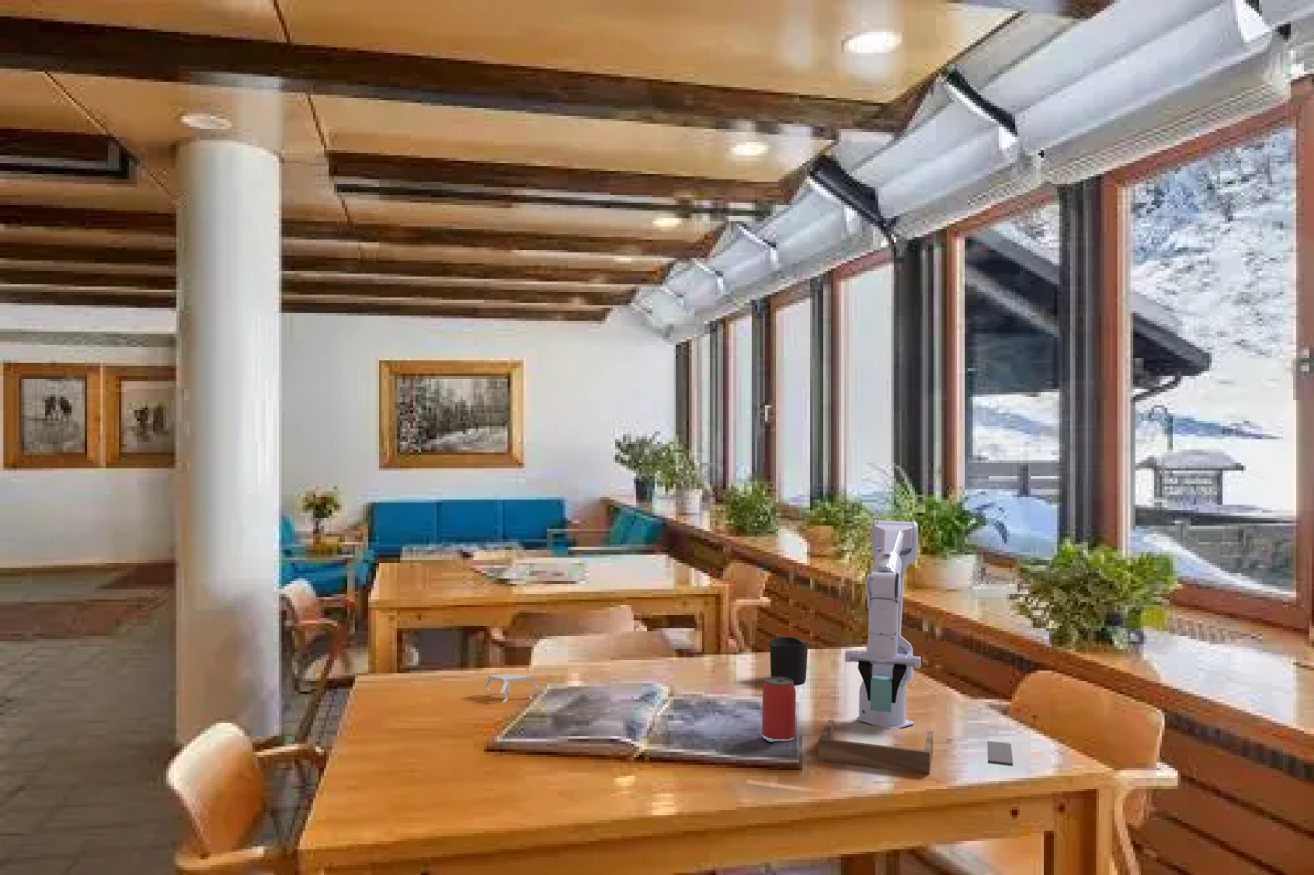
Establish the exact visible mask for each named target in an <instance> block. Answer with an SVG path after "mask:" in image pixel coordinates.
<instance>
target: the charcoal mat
mask: <svg viewBox="0 0 1314 875" xmlns="http://www.w3.org/2000/svg"><path fill="white" fill-rule="evenodd" d="M986 747H987V748H986V749H987V763H992V764H998V765H999V764H1000V765H1006V764H1007V765H1008V766H1014V761H1013V760H1014V759H1013V753H1012V752H1013V751H1012V743H1008V742H1007V743H1006V742H998V741H992V740H991V741H989V740H988V741H987V746H986Z"/></svg>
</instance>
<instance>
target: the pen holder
mask: <svg viewBox="0 0 1314 875" xmlns="http://www.w3.org/2000/svg"><path fill="white" fill-rule="evenodd" d="M808 648H809V642H807V641H806V642H803V641H802V640H800V639H798V638H796V637H790V636H780V637H779V636H777V637H772V638H771V639H770V640H769V659H770V660H769V662H770V666H769V667H770V677H785V678H790V679H792V680H793V684H794V686H798V685H803V684H805V682H806V680H807V669H808V668H807V667H808V652H809V650H808Z"/></svg>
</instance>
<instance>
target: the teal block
mask: <svg viewBox="0 0 1314 875" xmlns="http://www.w3.org/2000/svg"><path fill="white" fill-rule="evenodd" d="M892 689H893V677H886V676H875V675H873V676H872V679H871V699H870V710H872V711H881V712H890V713H891V711H892V708H893V703H892Z"/></svg>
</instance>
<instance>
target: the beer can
mask: <svg viewBox="0 0 1314 875" xmlns="http://www.w3.org/2000/svg"><path fill="white" fill-rule="evenodd" d="M796 700H797V692H796V687H795V685H794V684H793V680H792V679H790V678H785V677H771V676H770V677H767V678H766V679H765V683H764V685H763V688H762V706H761V707H762V709H761V710H762V711H761V714H762V715H761V716H762V718H761V722H762V724H761V725H762V726H761V735H762V734H763V735H764V736H766V737H768V738H772V739H790V738H793V737H794V736H795V737H796V710H797V709H796V708H797V707H796Z"/></svg>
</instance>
